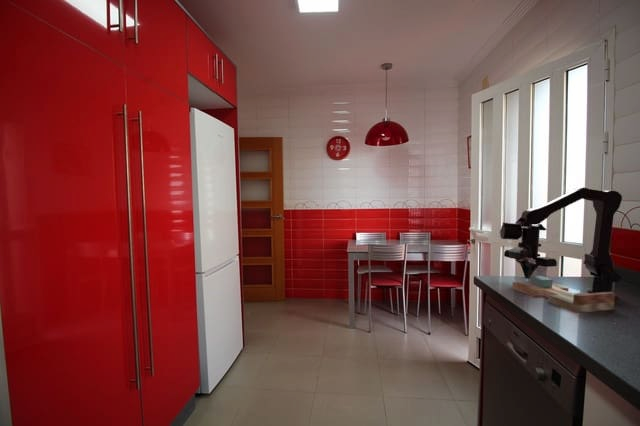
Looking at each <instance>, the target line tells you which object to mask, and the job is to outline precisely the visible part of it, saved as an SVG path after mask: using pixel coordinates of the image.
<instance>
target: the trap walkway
mask: <svg viewBox="0 0 640 426" xmlns="http://www.w3.org/2000/svg"><path fill="white" fill-rule="evenodd" d="M511 288H512V290H515V291H517V292H521V293H523V294H525V293H526V295H529V296H530V297H534V298H538V297H539V298H540V297H546V298H547V299H548V300H547V302H548V303H549V304H552V305H555V306H557V307H561V308H563V309H566V310H569V311H570V312H571V311H572V312H573V313H579V314H581V313H590V312H591V313H592V312H598V311H609V310H610V311H611V310H614V307H615V299H616V297H615V294H616V293H615V292H614V293H613V292H600V293H590V292H586V293H585V292H571V291H569V287H567V286H564V285H560V284H557V283H552V287H546V288H541V287H538V286H535V285H532V284H530V280H529V281H514V282H512V287H511Z"/></svg>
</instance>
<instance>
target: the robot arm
mask: <svg viewBox="0 0 640 426" xmlns="http://www.w3.org/2000/svg"><path fill="white" fill-rule="evenodd" d="M580 200H585V201H590V202H592V206H593V209H594V212H595V213H596V215H595V225H594V235H593V243H592V244H593V245H592V250H591V251H590V253H584V261H583V264H584V266H585V269H587V271H589V274H590V276H593V278H592V279H593V281H592V286H591V289H590V290H587V293H600V292H613V293H615V292H614V291H615V283H619V282H620V281H621V280H622V276H621V275H620V274H619V273H618V272H617V271H616V270H615V269H614V260H613V258H612V256H611V253H610V249H611V243H612V242H611V240H612V232H613V225H614V224H613V223H614V216H615V214H616V213H617V212H618V210H619V209H620V208H621V203H622V200H623V196H622V194H621V193H620V192H619V191H616V190H597V189H593V188H592V189H590V188H588V187H576V188H574V189H572V190H571V191H569V192H567V193H565V194H563V195H561V196H559V197H557V198H555V199H553V200H551V201H548V202H547V203H545V204H542V205H538V206H534V207H531V208H527V209H525V210H524V211H522V212H521V217H519V219H517V220H516V222H515V223H512V222H511V223H510V222H502V225H501V228H500V230H499V236H500V238H501V240H513V241H515V240H517V241H518V240H519V239H521V241H519V242H518V244H517V246H514V247H513V248H510V249H505V251H504V253H503V257H505V258H509V259H514V260H515V262H517V263H518V264H519V265H520V267H521V269H522V272H523V276H524V278H525V279H526V280H528V279H529V280H530V276H531V275H532V274H533V272H534V271H535V270H536V268H537V267H538V266H543V267H547V268H549V267H557V265H558V261H557V259H556V258H552V257H549V256H548V257H547V256H541V253H539V247H542V243H539V241H540V231H547V228H546V227H544V226H543V224H541V223H543V221H545V220H546V219H548V218H549V216H551V215H552V214H553V213H555V212H558V211H560V210H562V209H564V208H565V207H568V206H570V205H572V204H574V203H576V202H579V201H580ZM532 258H533V259H532ZM616 297H619V294H616V293H615V298H616Z"/></svg>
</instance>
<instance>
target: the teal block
mask: <svg viewBox="0 0 640 426" xmlns="http://www.w3.org/2000/svg"><path fill="white" fill-rule="evenodd" d="M553 280H554V279H553V278H550V277H547V276H546V277H543V276H530V278H529V281H530V284H532V285H535V286H538V287H541V288H546V287H552V283H553V282H554V281H553Z"/></svg>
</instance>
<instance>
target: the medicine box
mask: <svg viewBox="0 0 640 426" xmlns="http://www.w3.org/2000/svg"><path fill="white" fill-rule="evenodd" d="M532 259H533V258H532ZM547 272H548V267H543V266H538V267H537V268H536V270H535V271H534V272H533V274H532V275H531V276H543V277H546V278H547V276H548V275H547Z"/></svg>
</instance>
